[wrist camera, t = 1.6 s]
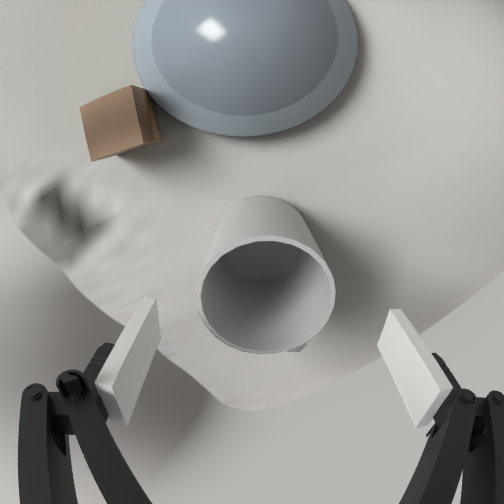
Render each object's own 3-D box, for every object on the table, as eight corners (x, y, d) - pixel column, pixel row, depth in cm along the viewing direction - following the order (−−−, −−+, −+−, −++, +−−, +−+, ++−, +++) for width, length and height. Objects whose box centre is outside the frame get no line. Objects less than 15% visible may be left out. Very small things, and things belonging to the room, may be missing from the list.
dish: (153, -38, 14) (148, -44, 12) (352, -30, 14) (356, -37, 13) (131, 136, 20) (125, 136, 19) (346, 146, 20) (351, 148, 19)
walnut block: (105, 108, 19) (79, 106, 15) (151, 91, 19) (130, 84, 15) (116, 155, 21) (91, 161, 17) (162, 140, 20) (143, 143, 17)
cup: (287, 178, 21) (308, 211, 13) (330, 287, 25) (359, 358, 17) (199, 217, 23) (169, 270, 14) (253, 317, 26) (253, 394, 18)
